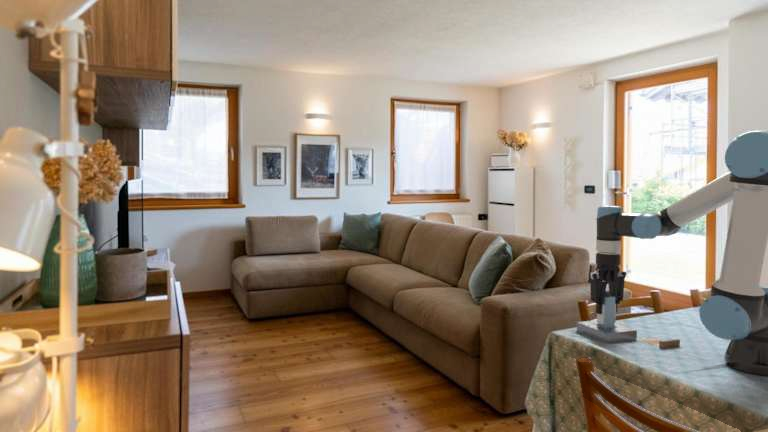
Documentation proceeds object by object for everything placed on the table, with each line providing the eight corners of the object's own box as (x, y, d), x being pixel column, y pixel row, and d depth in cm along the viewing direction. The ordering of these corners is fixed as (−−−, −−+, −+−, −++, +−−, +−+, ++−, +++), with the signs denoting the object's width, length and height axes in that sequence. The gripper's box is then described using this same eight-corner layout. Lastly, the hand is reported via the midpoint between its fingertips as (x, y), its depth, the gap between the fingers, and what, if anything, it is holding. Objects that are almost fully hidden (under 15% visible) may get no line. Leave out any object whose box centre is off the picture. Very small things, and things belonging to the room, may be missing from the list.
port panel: (636, 342, 166) (636, 329, 166) (606, 345, 163) (606, 332, 162) (605, 330, 180) (605, 318, 179) (576, 333, 176) (576, 320, 176)
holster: (679, 349, 160) (679, 339, 159) (661, 351, 157) (662, 341, 157) (656, 340, 168) (656, 331, 168) (638, 342, 166) (639, 333, 166)
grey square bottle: (614, 332, 170) (615, 292, 169) (605, 333, 169) (606, 292, 168) (606, 329, 173) (607, 289, 172) (597, 330, 172) (598, 290, 171)
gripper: (620, 250, 175) (618, 318, 177) (579, 252, 170) (577, 322, 172) (637, 253, 168) (635, 323, 170) (595, 255, 163) (593, 328, 165)
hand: (606, 322), depth 171 cm, fingers closed on grey square bottle, 4 cm apart
